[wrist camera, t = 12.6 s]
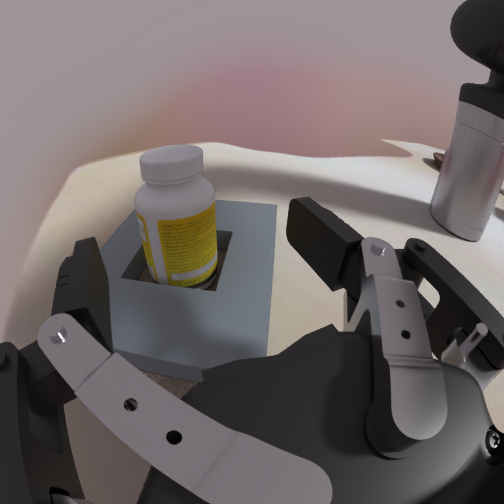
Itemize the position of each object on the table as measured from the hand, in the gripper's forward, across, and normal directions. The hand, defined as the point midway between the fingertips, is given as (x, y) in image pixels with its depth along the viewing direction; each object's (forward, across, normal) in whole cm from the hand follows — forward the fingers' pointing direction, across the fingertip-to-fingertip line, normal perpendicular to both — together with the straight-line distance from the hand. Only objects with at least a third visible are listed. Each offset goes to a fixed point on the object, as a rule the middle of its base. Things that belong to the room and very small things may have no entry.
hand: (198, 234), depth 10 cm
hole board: (+8, 0, +8) cm, 12 cm away
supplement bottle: (+8, 0, +9) cm, 12 cm away
